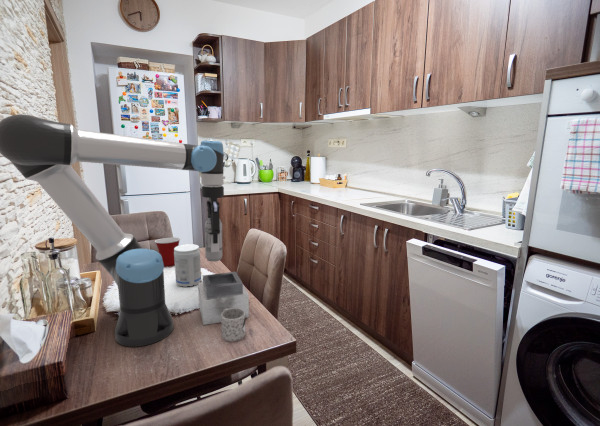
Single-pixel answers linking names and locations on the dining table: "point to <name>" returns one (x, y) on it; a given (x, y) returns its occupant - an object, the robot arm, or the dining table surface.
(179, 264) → the supplement tub
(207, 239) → the energy drink can
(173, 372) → the dining table surface
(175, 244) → the plastic cup
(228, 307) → the block
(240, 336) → the mug
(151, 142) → the robot arm
